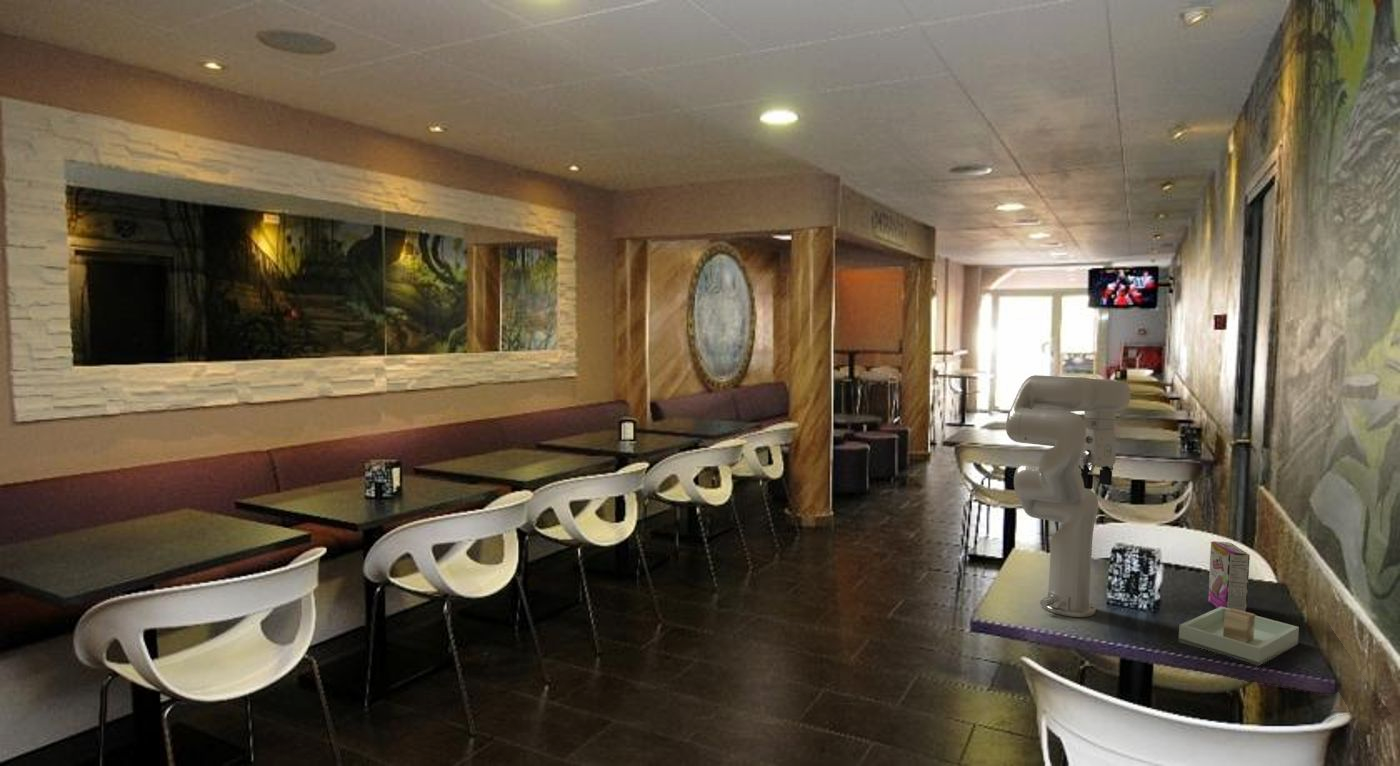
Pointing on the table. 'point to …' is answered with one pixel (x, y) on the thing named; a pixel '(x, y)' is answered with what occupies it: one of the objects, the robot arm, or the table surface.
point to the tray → (1264, 646)
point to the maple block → (1239, 625)
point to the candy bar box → (1228, 576)
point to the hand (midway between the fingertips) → (1095, 486)
